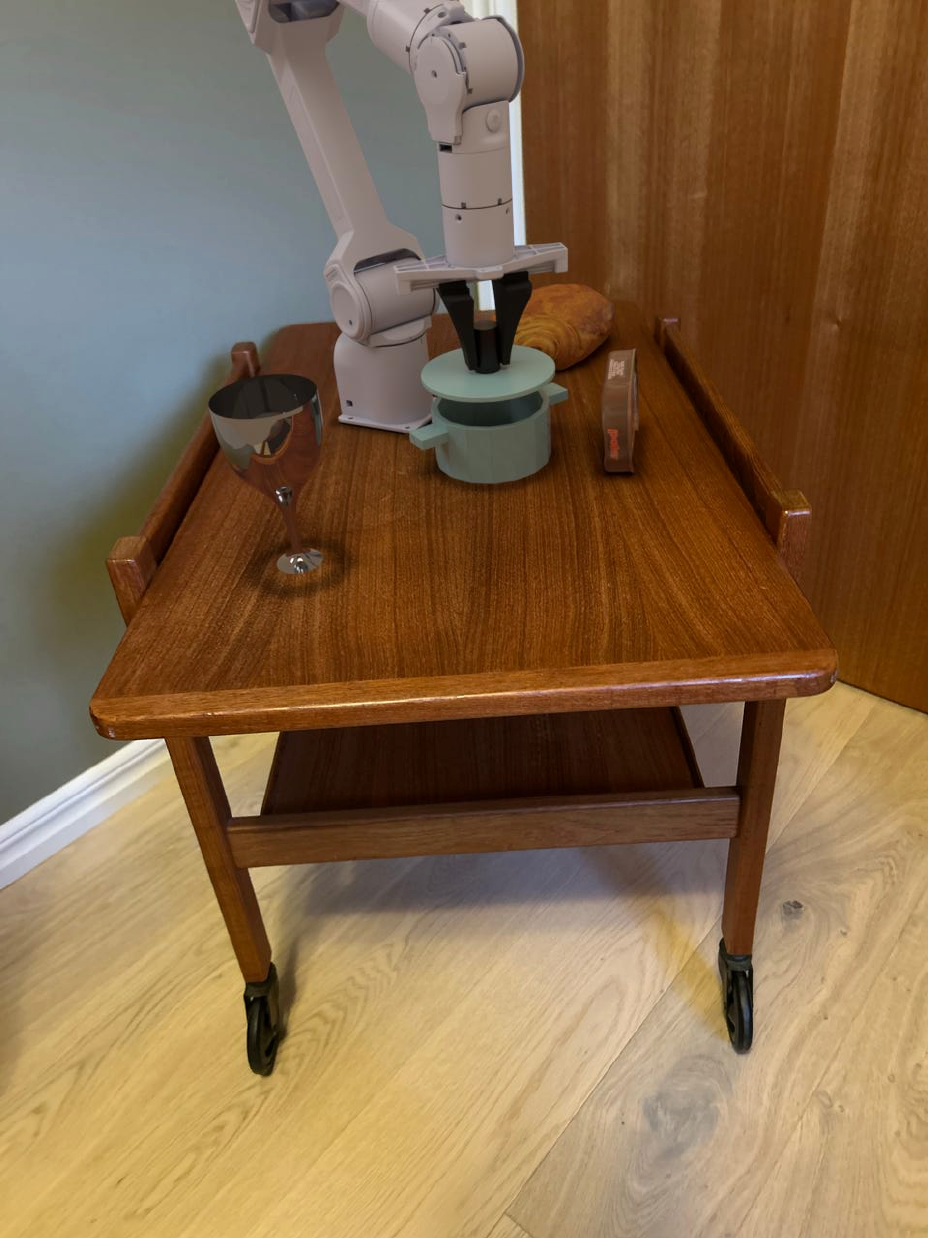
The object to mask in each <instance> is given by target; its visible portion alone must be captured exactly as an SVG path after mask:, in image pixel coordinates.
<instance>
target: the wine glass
mask: <svg viewBox="0 0 928 1238" xmlns="http://www.w3.org/2000/svg"><path fill="white" fill-rule="evenodd" d="M207 404H208V405H207V406H208V407H207V408H208V411H209V415H210V420H211V423H212V426H213V430H214V432H215V435H216V439H217V441H218V444H219V446H220V449H221V451H222V453H223V455H224V458H225V459H226V461H227V463H228V464H229V466H230V469H231V470H232V471H233V473H234V474H235V475H236V477H237V478H238V479H239V480H240V481H242V482H243V483H244V484H246V485H247V486H248V487H250V488H251V489H253V490H254V491H257V492H258V493H260V494H261V495H263V496H264V497H266V498H267V499H269V500H270V501H271V502H272V503H273V504H274V505H275V506H276V507H277V509H278V510H279V512H280V514H281V516H282V519H283V522H284V525H285V527H286V531H287V533H288V537H289V540H290V541H289V542H290V545H291V550H290V551H287V552H285V553H284V554H282V555H281V556H280V557H279V558H278V560H277V562H276V568H277V569H278V570H279V571H280V572H281V573H284V574H288V575H300V574H305V573H309V572H310V571H313V570H315V569H316V568H318V567H319V566H321V564H322V563H323V559H324V557H323V554H322V553H321V551H319V550H317V549H315V548H309V547H303V546H302V541H301V538H300V532H299V525H298V502H299V500H300V496H301V494H302V492H303V490H304V489H305V487H306V486H307V484H308V483H309V482H310V480H311V479H312V477H313V476H314V475H315V473H316V471H317V469H318V467H319V465H320V463H321V460H322V455H323V447H324V421H323V413H322V412H323V411H322V404H321V400H320V395H319V390H318V386H317V384H316V383H315V382H314V381H313V380H312V379H310V378H308V377H306V376H303V375H298V374H292V373H271V374H262V375H255V376H250V377H246V378H244V379H240V380H236V381H234V382H232V383H230V384H227V385H225V386H223V387H221V388H220V389H218V390H217V391H216V392H214V393H213V394H212V395H211V397H210V398H209V400H208V403H207Z"/></svg>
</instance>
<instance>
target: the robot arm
mask: <svg viewBox="0 0 928 1238" xmlns="http://www.w3.org/2000/svg"><path fill="white" fill-rule="evenodd" d="M234 2H235V5H236V7H237V10H238V12H239V15H240V17H241V20H242V23H243V25H244V27H245V29H246V32H247V34H248V37H249V40H250V42H251V44H252V46H254V47H256V48H257V49H259V50H261V51H262V52H263V53H265V55H266V58H267V61H268V64H269V66H270V69H271V71H272V75H273V76H274V79H275V81H276V84H277V87H278V89H279V92H280V95H281V98H282V99H283V102H284V105H285V107H286V110H287V112H288V115H289V118H290V121H291V123H292V125H293V128H294V131H295V133H296V135H297V136H296V137H297V138H298V141H299V143H300V146H301V148H302V151H303V154H304V156H305V159H306V161H307V164H308V166H309V169H310V171H311V174H312V177H313V179H314V183H315V184H316V187H317V189H318V192H319V194H320V197H321V200H322V203H323V205H324V207H325V210H326V212H327V215H328V218H329V221H330V223H331V226H332V228H333V231H334V233H335V236H336V239H337V244H336V246H335V247H334V248H333V251H332V252H331V254H330V256H329V257H328V259H327V261H326V264H325V266H324V269H323V272H322V275H323V276H324V280H325V284H326V287H327V291H328V295H329V303H330V309H331V312H332V316H333V319H334V321H335V322H336V325H337V327H338V328H339V330H340V331H341V333H340V335H339V336H338V337H337V340H336V342H335V346H334V350H333V366H334V373H335V379H336V385H337V391H338V392H337V393H338V397H339V402H340V408H341V415H339V416H338V417H337V418H338V422H340V423H344V424H349V425H355V426H361V427H368V428H373V429H379V430H385V431H391V432H398V433H404V434H409V432H410V431H413V430H416V429H419V428H422V427H425V426H426V425H428V424H429V422H430V421H432V414H431V406H432V404H433V403H434V401H435V399H436V397H437V396H433V395H434V394H432V393H430V392H429V391H428V390H426V388H425V387H424V386H423V384H422V381H421V372H422V370H423V368H424V367H425V365H426V364H427V363H429V362H430V358H429V357H430V356H429V347H428V339H427V338H428V337H427V330H429V329H430V328H433V324H432V317H434V316H436V314H437V313H438V310H439V308H440V305H441V304H440V303H441V301H442V303H443V305H444V307H445V309H446V311H447V313H448V316H449V317H450V319H451V322H452V324H453V327H454V329H455V331H456V334H457V338H458V340H459V343H460V347H461V348H462V351H463V355H464V360H465V364H466V366H467V367H468V369H469V370H470V371H471V370H477V354H476V347H475V339H474V323H475V299H474V298H473V297H472V296H471V290H470V287H468V284H474V283H480V282H481V283H482V282H486V281H487V282H489V281H491V288H492V297H493V304H494V305H493V306H494V314H495V315H496V322H498V324H499V339H500V358H501V364H502V365H509V364H510V359H511V352H512V347H513V342H514V338H515V334H516V331H517V327H518V324H519V321H520V319H521V316H522V314H523V312H524V309H525V307H526V305H527V303H528V301H529V299H530V298H531V294H532V290H533V282H532V281H531V280H530V275H537V274H542V273H543V274H544V273H548V272H549V273H550V272H554V273H555V274H561V273H567V272H568V271H569V249H568V247H567V246H565V245H564V244H563V243H562V242H560V241H559V242H553V243H552V242H551V243H539V244H518V245H517V244H516V245H515V221H514V219H515V218H514V196H513V193H514V191H513V171H512V170H513V169H512V145H511V143H512V141H511V119H510V117H511V116H510V103H512V102H513V101H514V100H515V99H517V97H518V96H519V94H520V91H521V89H522V86H523V84H524V83H523V82H524V78H525V69H526V67H525V55H524V50H523V46H522V43H521V42H522V41H521V39H520V37H519V35H518V34H517V32H516V30H515V28H514V27H513V26H512V25H511V24H510V23H509V22H508V21H507V19H506V18H505V17H504V16H503V15H501V14H491V15H486V16H484V17H482V18H479V17H473V16H472V15H471V14H469V13H468V12H467V11H466V8H465V6H464V4H463V3H461V2H460V1H459V0H234ZM345 8H347V9H348V10H349V11H352V13H355V14H356V15H357V16H359V17H360V18H362V19H364V20H365V21H366V29H367V32H368V33H367V34H368V36H369V38H370V40H371V42H372V44H373V45H374V46H375V47H376V49H378V50H379V51H380V52H382V53H383V54H384V55H385V56H386V57H388V58H389V59H390V60H392V61H393V62H394V63H395V64H396V65H397V66H398V67H400V68H401V69H402V70H404V71H405V72H406V73H407V74H409V75H410V76H411V77H412V78H413V79H414V84H415V88H416V91H417V95H418V97H419V100H420V102H421V104H422V106H423V107H424V111H425V114H426V120H427V129H428V133H429V134H430V138H431V140H432V141H433V142H436V151H437V152H436V154H437V162H438V175H439V176H438V177H439V187H440V188H439V189H440V200H441V210H442V211H441V213H442V226H443V237H444V248H445V253H444V254H439V255H436V256H432V257H428V258H427V257H426V256H425V255H424V252H423V251H422V249H421V246H420V243H419V240H418V238H417V237H416V236H415V235H413V234H412V233H410V232H408V231H406V230H405V229H402V228H400V227H398V226H396V225H394V224H393V223H391V222H390V221H389V220H388V218H387V215H386V213H385V210H384V207H383V204H382V201H381V199H380V196H379V194H378V191H377V187H376V185H375V183H374V181H373V177H372V175H371V172H370V169H369V167H368V164H367V161H366V159H365V156H364V153H363V151H362V148H361V145H360V143H359V140H358V138H357V135H356V132H355V130H354V127H353V124H352V122H351V118H350V116H349V113H348V111H347V108H346V106H345V103H344V99H343V98H342V95H341V92H340V90H339V87H338V84H337V81H336V79H335V77H334V74H333V71H332V68H331V65H330V63H329V60H328V58H327V55H326V54H327V53H326V48H327V44H328V43H329V42H330V41H331V40H332V39H333V38H334V37H335V36H336V35H337V34H339V31H340V29H341V28H340V27H341V24H342V20H343V16H344V13H345Z"/></svg>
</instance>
